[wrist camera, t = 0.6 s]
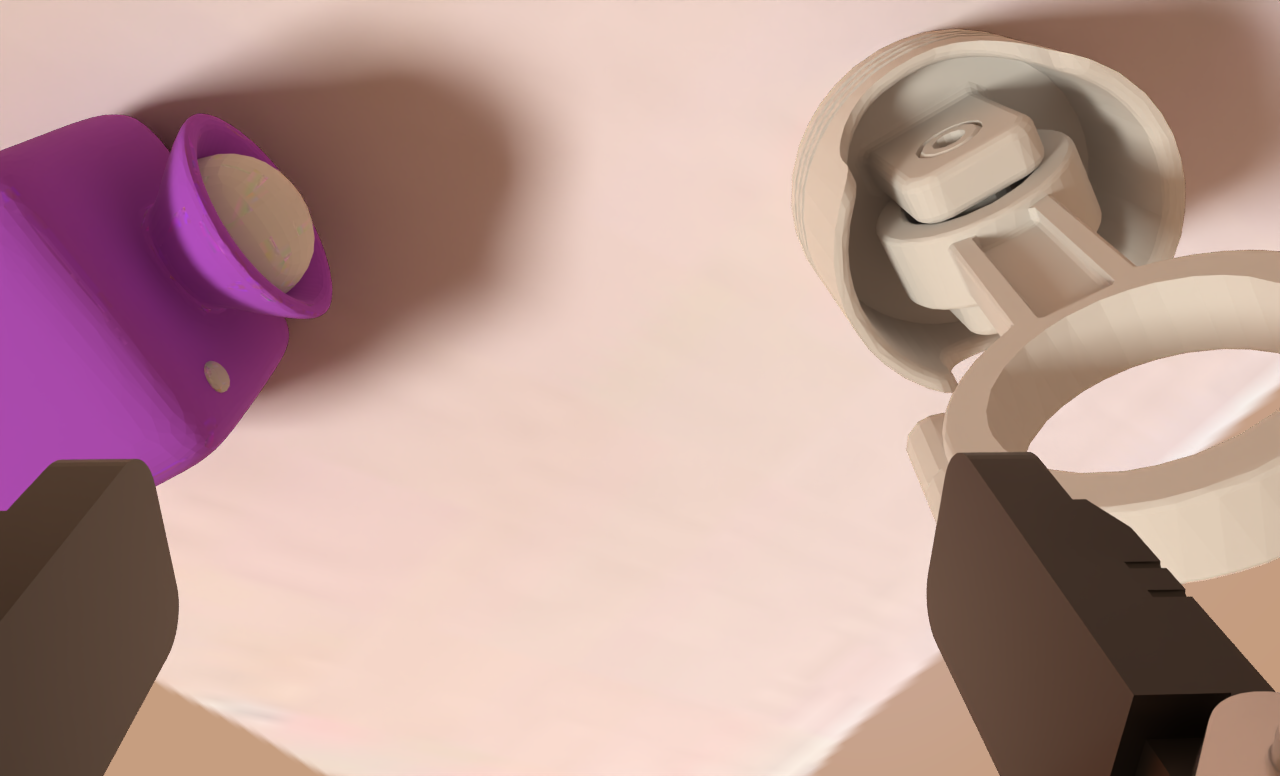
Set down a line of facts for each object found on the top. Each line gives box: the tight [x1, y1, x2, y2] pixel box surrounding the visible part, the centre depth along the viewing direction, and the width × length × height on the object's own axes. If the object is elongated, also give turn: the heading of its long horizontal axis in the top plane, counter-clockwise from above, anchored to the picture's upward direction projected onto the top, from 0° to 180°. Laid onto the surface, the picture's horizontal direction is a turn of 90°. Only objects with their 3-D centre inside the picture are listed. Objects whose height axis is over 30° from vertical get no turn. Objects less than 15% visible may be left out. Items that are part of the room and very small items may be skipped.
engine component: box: [791, 29, 1280, 584], centre depth 25 cm, size 11×20×10 cm
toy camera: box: [0, 114, 332, 511], centre depth 30 cm, size 11×14×10 cm
